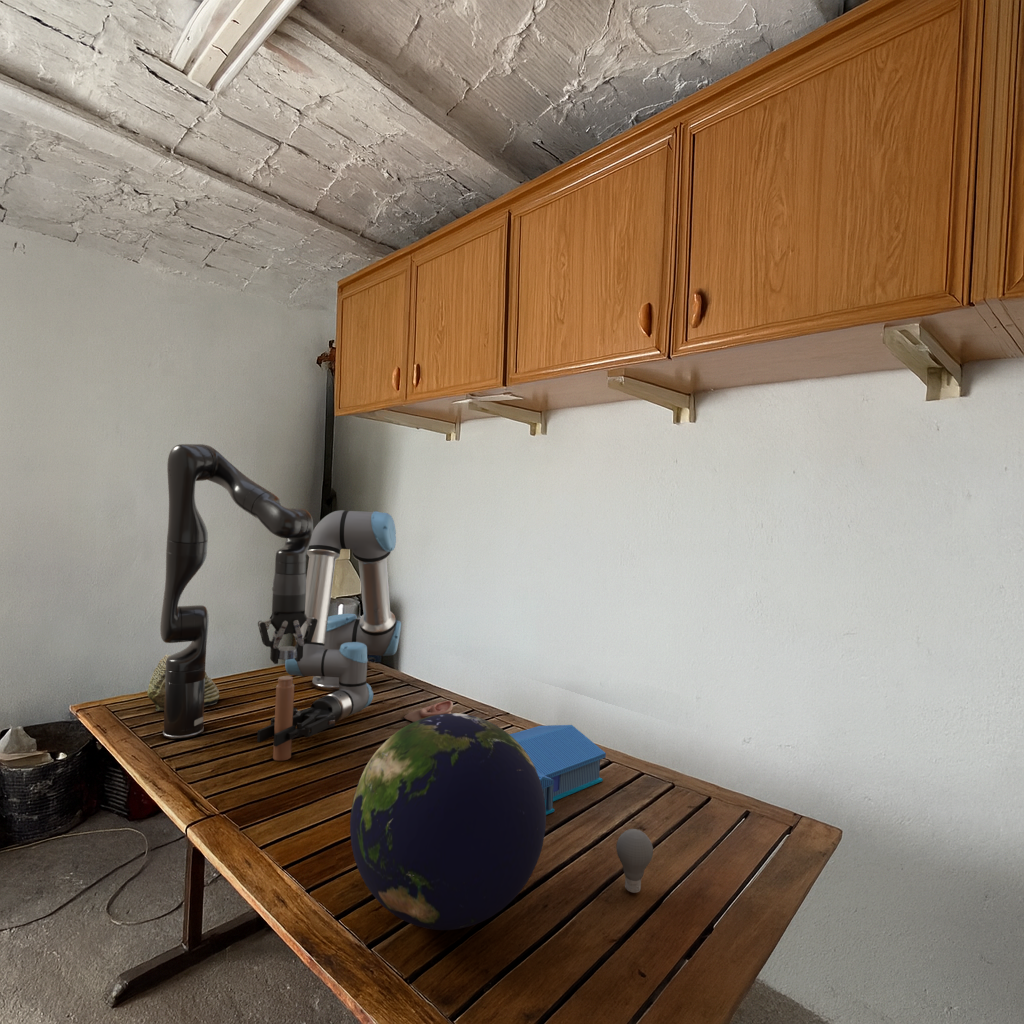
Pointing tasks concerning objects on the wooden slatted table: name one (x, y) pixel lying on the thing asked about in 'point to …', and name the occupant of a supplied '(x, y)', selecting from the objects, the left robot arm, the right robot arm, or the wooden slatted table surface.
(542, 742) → the model building
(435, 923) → the globe
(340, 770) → the wooden slatted table surface
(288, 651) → the lid
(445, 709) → the anatomical model
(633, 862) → the light bulb
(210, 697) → the fossil
